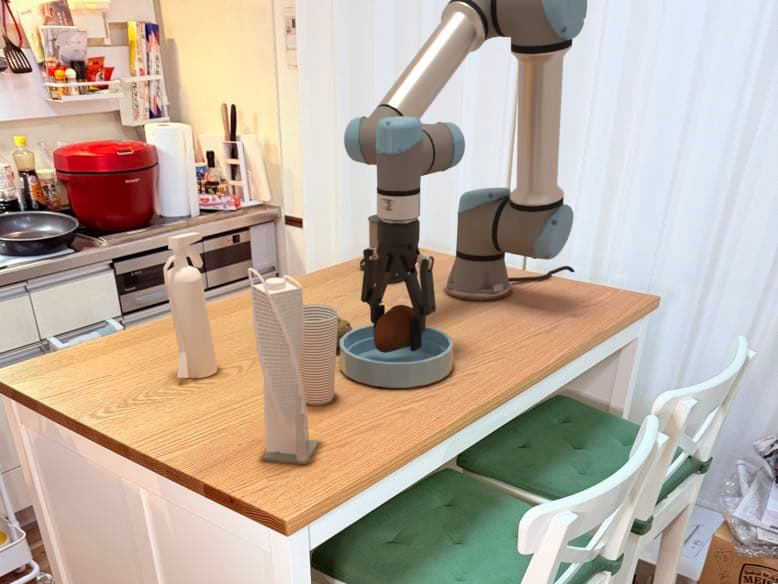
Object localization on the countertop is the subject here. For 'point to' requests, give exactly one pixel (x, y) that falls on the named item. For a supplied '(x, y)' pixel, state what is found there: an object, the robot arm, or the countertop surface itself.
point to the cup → (319, 353)
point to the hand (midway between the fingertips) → (397, 344)
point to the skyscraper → (281, 367)
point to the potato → (394, 329)
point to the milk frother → (374, 242)
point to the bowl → (396, 359)
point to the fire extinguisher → (189, 309)
